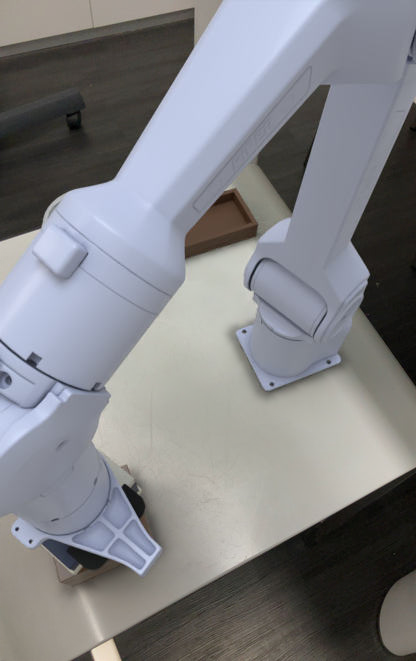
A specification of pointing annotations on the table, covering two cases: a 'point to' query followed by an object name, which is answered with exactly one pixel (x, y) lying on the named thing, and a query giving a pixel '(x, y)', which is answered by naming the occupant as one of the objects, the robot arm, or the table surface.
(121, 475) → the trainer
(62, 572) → the grey brown block
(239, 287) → the table surface
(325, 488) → the table surface
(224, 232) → the brown wooden tray
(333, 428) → the table surface
